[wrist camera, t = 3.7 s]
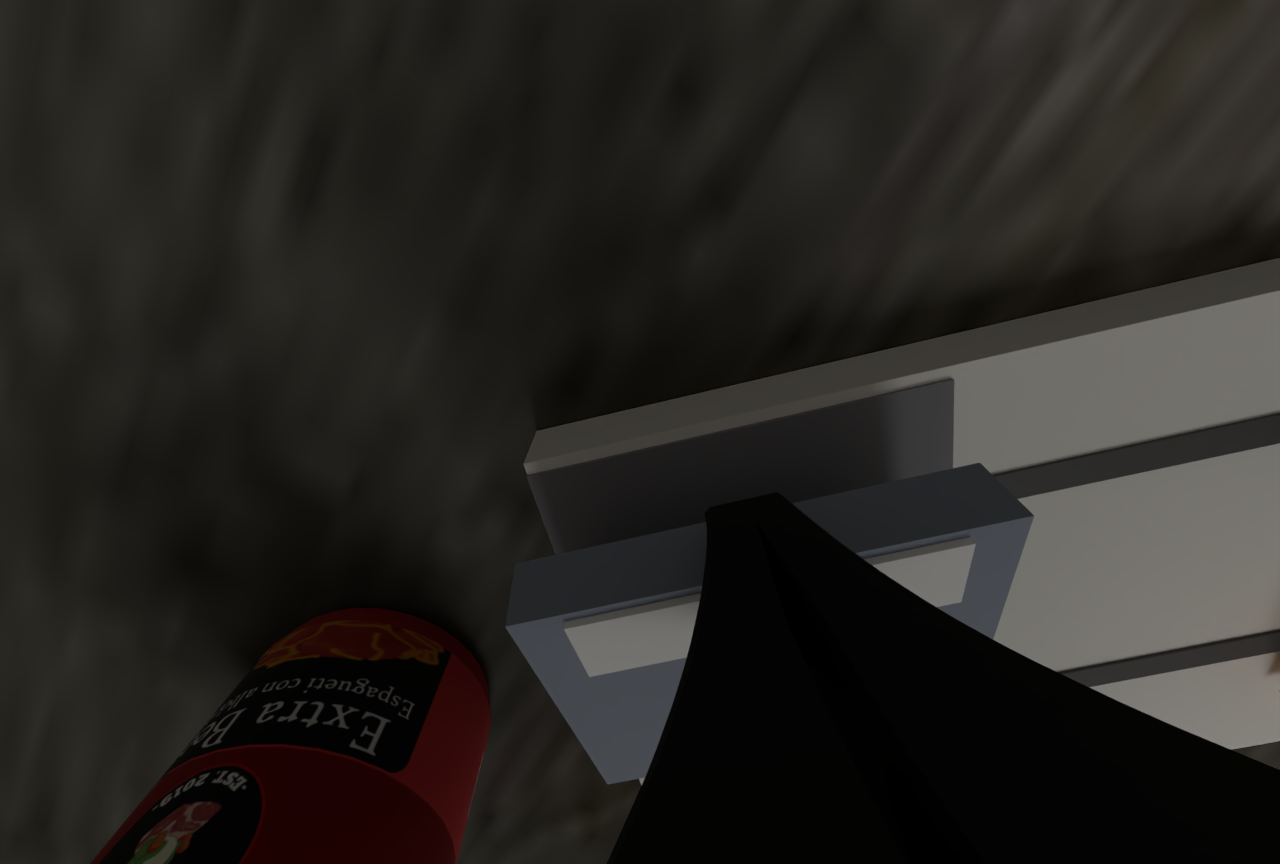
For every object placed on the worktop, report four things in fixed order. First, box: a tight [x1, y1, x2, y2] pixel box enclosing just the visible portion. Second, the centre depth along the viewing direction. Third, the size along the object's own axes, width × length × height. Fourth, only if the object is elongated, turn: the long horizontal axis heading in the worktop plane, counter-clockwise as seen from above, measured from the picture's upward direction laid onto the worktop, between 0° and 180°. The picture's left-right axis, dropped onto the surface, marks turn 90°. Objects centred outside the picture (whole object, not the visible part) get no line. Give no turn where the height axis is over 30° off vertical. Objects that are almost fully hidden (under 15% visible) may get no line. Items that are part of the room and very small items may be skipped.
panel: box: [523, 258, 1280, 786], centre depth 14 cm, size 16×24×4 cm, turn 103°
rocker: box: [505, 463, 1034, 784], centre depth 11 cm, size 7×9×2 cm
